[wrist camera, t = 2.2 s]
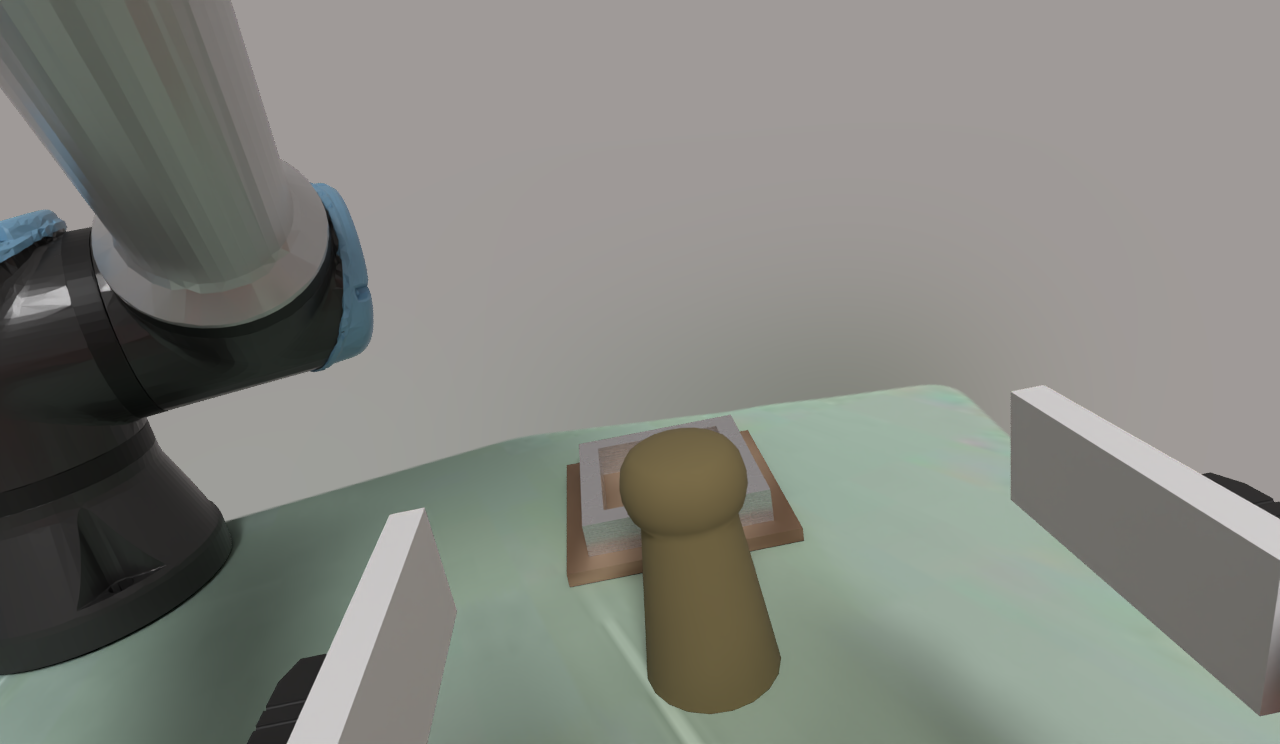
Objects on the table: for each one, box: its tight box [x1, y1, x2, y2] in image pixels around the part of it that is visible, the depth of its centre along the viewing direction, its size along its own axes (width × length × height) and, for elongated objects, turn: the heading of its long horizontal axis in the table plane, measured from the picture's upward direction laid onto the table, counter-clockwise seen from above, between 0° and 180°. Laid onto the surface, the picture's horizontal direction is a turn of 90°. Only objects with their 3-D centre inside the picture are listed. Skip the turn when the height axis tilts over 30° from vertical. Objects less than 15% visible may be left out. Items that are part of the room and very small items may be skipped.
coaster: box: [567, 415, 804, 587], centre depth 46 cm, size 13×13×3 cm
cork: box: [619, 428, 781, 714], centre depth 31 cm, size 6×6×11 cm
